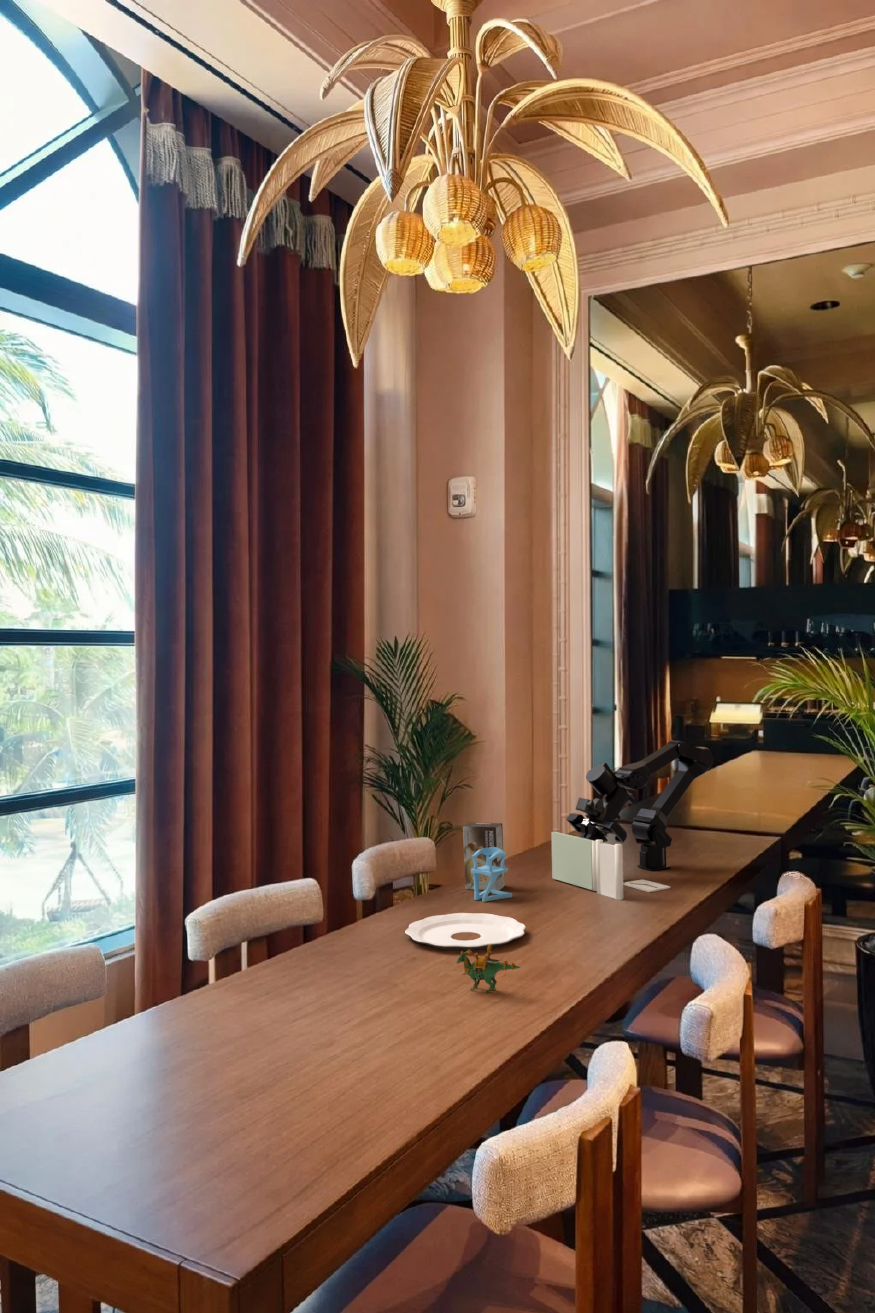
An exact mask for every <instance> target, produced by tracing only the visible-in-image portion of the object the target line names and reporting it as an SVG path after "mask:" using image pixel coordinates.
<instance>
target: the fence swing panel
mask: <svg viewBox="0 0 875 1313" xmlns="http://www.w3.org/2000/svg"><path fill="white" fill-rule="evenodd" d="M550 834H551V835H550V836H551V841H550V842H551V874H552V876H551V877H552V879H554V880H557V881H560V882H564V883H567V884H571V885H573V886H576V887H581V888H584V889H586V890H590V891H595V892H597V878H596V841H593V840H589V839H585V838H580V837H581V836H580V837H579V836H575V835H571V834H567V833H562V832H559V831H551V833H550Z"/></svg>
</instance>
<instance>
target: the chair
mask: <svg viewBox="0 0 875 1313" xmlns="http://www.w3.org/2000/svg"><path fill="white" fill-rule="evenodd" d="M479 854H485V855H486V865H484V866H482V867H478V864H477V861H476V858H477V856H478V855H479ZM489 855H492V856H491V857H489ZM499 856H500V857H502V861H501V867H497V866H493V865H492V861H493V860H494V859H495V858H497V857H499ZM506 857H507V853H506V852H505V851H504V850H503V851H502V850H501V849H499V848H497V847H490V848H483V849H480V850H478V851H476V853H475V854H474V855H472V858H473V861H474V868H473V869H471V873H473V876H474V889H473V890H474V896H473V900H474V901H479V900H481V902H482V903H483V902H484V903H485V902H486V903H487V902H490V901H497V900H502V899H503V900H504V899H509V898H513V892H509V891H502V890H499V891H497V890H492V889H491V888H492V886H493V884H494V882H495V880H496V878H497V877H498V876H499V875H501V874H502V873H504V874H505V873H507V872H509V867H506V866H505V860H506ZM477 867H478V868H477ZM480 874H484V875H487V876H490V882H489V884H488V887H487V889H486V890H482V891H480V890H479V876H480ZM489 894H493V895H489Z"/></svg>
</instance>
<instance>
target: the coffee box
mask: <svg viewBox="0 0 875 1313" xmlns="http://www.w3.org/2000/svg"><path fill="white" fill-rule="evenodd" d="M503 829H504V828H503V823H501V822H500V823H499V822H479V821H478V822H472V821H470V822H468V823H465V825H463V826H462V837H463V839H462V840H463V844H462V845H463V866H464V867H463V868H464V870H463V871H464V889H465V890H474V876H473V873H471V869H473V868H474V861H473V858H472V855H474V854H475V853H476V851H478V850H480V849H483V848H490V847H497V848H499V849H501V850H502V851H504V835H503V832H504V831H503ZM491 856H492V855H489V857H491ZM476 861H477V864H478V867H482V866H484V865H486V855H485V854H479V855H478V856H477V858H476ZM501 861H502V857H500V856H499V857H497V858H495V859H494V860H493V861H492V865H493V866H497V867H501ZM478 867H477V868H478ZM489 882H490V876H487V875H484V874H480V876H479V891H484V890H486V889H487V887H488V884H489ZM504 887H505V872H504V873H502V874H501V875H499V876H498V877H497V878H496V880H495V882H494V884H493V886H492V888H491V889H492V890H497V891H501V889H503V888H504Z"/></svg>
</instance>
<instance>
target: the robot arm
mask: <svg viewBox="0 0 875 1313" xmlns="http://www.w3.org/2000/svg"><path fill="white" fill-rule="evenodd" d="M676 760H678V769H677V771H676V772H675V773H674V775H673V777H672V778H671V779H670V781H669V783H668V784H667V785H666V786H665V788H664V789H663V791H662V792H661V794H660V795H659V797H658V798H657V799H656V800H655V802H654V803H653V805H652V806H651V807H650V808H648V809H647V808H643V807H642V808H640V809H639V811H637V814H636V815H635V817H633V818H632V820H633V822H632V823H631V832H632V835H633V836H634V837H633V838H634V840H635V843H636V844H637V845H639V844H640V850H639V864H637V865H636V866H637V867H638V868H642V869H644V870H648V871H659V870H665V869H666V870H667V869H671V865H667V848H668V847H671V844H672V840H673V839H672V837H671V835H669V833H667V831H666V830H667V829H668V818H669V816H670V814H671V813H672V811H673V810H674V809H675V807H676V806H677V805H678V803H679V802H680V801H681V799H682V797H683V796H684V794H685V793H686V792H687V791H688V789H689V787H690V786H691V784H692V783H693V781H694V780H695V779H697V778H699V777H701V776H703V775H704V774H705V773H706V772H707V771H708V770H709V769H710V768H711V767H712V766H713V764H714V756H713V753H712V751H711V750H710V749H709V748H706V747H705V748H703V747H697V746H695V745H692V744H690V743H689V744H688V743H687V742H684V741H681V740H670V741H668V742H667V743H666V744H665V745H664V746H663V745H662V747H659V749H657V750H656V751H654V752H652V753H650V754H649V755H648V756H646V757H644V758H643V759H641V760H640V761H637V762H634V763H628V764H625V765H623V766H621V767H618V769H616V770H615V771H613V770H612V769H611V768H610V766H609V765H608V763H607V762H604V761H603V762H602V761H601V762H599V764H597V765H595V766H593V767H592V768H591V769H589V770H588V771H587V773H586V775H585V780H586V781H587V782H588V783H589V785H590V786H591V787H593V789H594V790H595V791H596V792H597V793H598V794H599V795H601V796H603V795H604V796H603V798H602V799H601V798H596V797H595V798H594V799H593V800H592V799H589V798H585V797H583V798H582V797H578V800H577V803H576V806H575V810H576V811H581V812H583V813H585V814H584V815H583V814H580V813H575V812H571V813H569V814H568V816H567V817H566V821H567V822H568V823H569V824H570V826H571V827H572V828H573V829H574V830H575V832H577V833H579V834H580V838H585V839H589V840H593V841H596V840H598V839H600V840H603V843H607V842H608V838H609V836H611V835H615V837H614V841H615V842H616V843H619V844H624V843H625V841H626V840H627V838H628V832H627V831H626V830H625V829H624V827H623V826H622V825H621V824H620V823H619V822H618V821H620V819H621V818H622V817H621V815H620V813H621V811H623V808H625V806H626V804H631V805H635V803H636V800H635V797H634V796H635V795H634V793H631V792H629V791H628V790H634V791H638V790H641V789H642V788H644V787H645V785H647V784H648V783H649V782H650V778H651V776H653V775H654V774H655V773H656V772H657V773H658V771H660V770H661V769H663V768H664V767H666V766H668V765H669V764H670V763H672V762H673V761H676ZM627 789H628V790H627ZM586 818H587V819H586ZM616 820H617V821H616Z"/></svg>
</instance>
